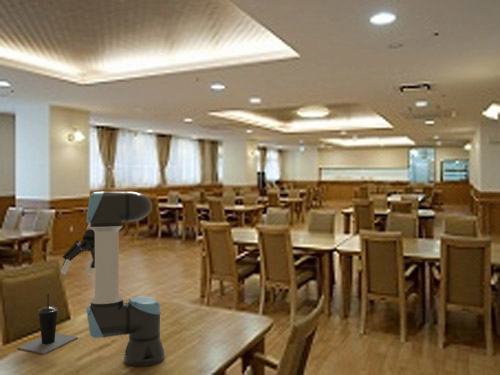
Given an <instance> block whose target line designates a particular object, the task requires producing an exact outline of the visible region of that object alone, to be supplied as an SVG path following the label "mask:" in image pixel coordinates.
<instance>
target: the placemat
mask: <svg viewBox="0 0 500 375" xmlns="http://www.w3.org/2000/svg"><path fill="white" fill-rule="evenodd" d="M78 338H79V337H78V336H74V335H71V334H69V335H68V334H64V333H59V332H55V341H54V342H53V343H51V344H42V339H41V337H39V338H37V339H34V340H31V341H29V342H27V343H25V344H23V345H20V346H17V350H20V351H25V350H27V351H26V352H30V351H32V352H31V353H34V352H36V354H39V353H41V354H40V355H44V354H45V355H46V354H49V353H50V352H53V351H55V350H57V349H59V348H61V347H63V346H65V345H67V344H68V343H69V344H70V343H71V342H73V341H75V340H77V339H78Z"/></svg>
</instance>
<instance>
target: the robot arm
mask: <svg viewBox="0 0 500 375" xmlns="http://www.w3.org/2000/svg"><path fill="white" fill-rule="evenodd" d="M152 209H153V202H152V201H151V198H149V197H148V195H146V194H144V193H141V192H136V191H103V190H102V191H95V192H94V191H93V192H92V193H90V194H89V199H88V206H87V212H86V223H87V224H88V225H87V227H86V229H85V231H84V234H83V235H82V240H81V241H80V240H76V241H75V242H74V243H73V245H72V246H71V247H70V248H69V249H68V250H67V251H66V252H65V253H64V254H63V256H62V258H63V259H64V261H63V264H62V267H61V270H60V273H61V274H62V275H63V276H64V275H66V274H67V272H68V270H69V267H70V265H71V264H72V260H74V258H76V257H77V256H78V255H80V254H81V253H83V252H90V254H91V259H90V262H89V263H88V266H87V268H86V270H85V274H86V275H87V276H89V277H90V276H91V275H92V273H93V270H94V297H93V298H92V299H91V300H90V305H88V306H86V314H87V322H88V328H89V335H90V337H91V338H93V339H101V338H103V339H104V338H109V337H110V338H111V337H117V336H126V335H128V342H127V344H126V348H125V351H124V354H123V361H124V363H125V364H127V365H128V366H132V367H139V368H142V367H149V366H154V365H157V364H158V363H161V362H162V361H163V360H164V359H165V349H164V346H163V342H162V339H161V314H162V313H161V305H160V302H159V301H158V300H157V299H156V298H154V297H151V296H150V297H149V296H143V295H142V296H139V295H138V296H134V297H133V296H132V297H130V298H129V300H128V302H124V298H123V297H122V296H121V295H120V282H119V281H120V276H119V275H120V274H119V272H120V270H119V268H120V267H119V266H120V262H119V260H120V258H119V257H120V256H119V254H120V253H119V252H120V251H119V247H120V246H119V242H120V241H119V238H120V237H119V232H120V230H121V229H122V228H123V226H124V225H123V223H124V222H129V223H130V222H136V221H139V220H142V219H144V218H146V217H148V216H149V215H150V213H151V212H152Z"/></svg>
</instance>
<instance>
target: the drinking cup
mask: <svg viewBox="0 0 500 375" xmlns="http://www.w3.org/2000/svg"><path fill="white" fill-rule="evenodd" d="M46 296H47V299H46V301H47V302H46V303H47V305H46V306H44V307H41V308H39V309H38V311H37V312H38V317H39V328H40V338H41V339H42V344H51V343H53V342H54V341H55V333H57V332H56V330H57V321H58V319H57V318H58V311H59V307H57V306H53V305H50V294H49V293H48V294H47V295H46Z"/></svg>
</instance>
